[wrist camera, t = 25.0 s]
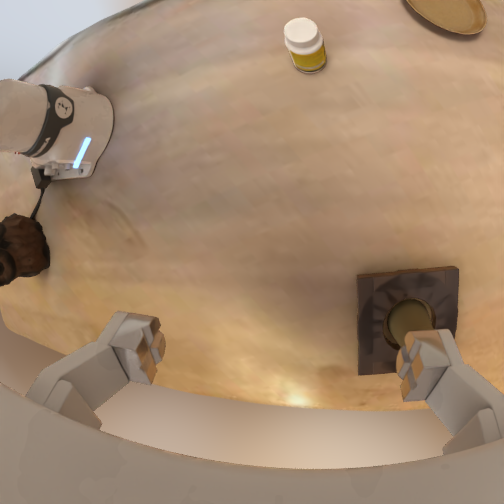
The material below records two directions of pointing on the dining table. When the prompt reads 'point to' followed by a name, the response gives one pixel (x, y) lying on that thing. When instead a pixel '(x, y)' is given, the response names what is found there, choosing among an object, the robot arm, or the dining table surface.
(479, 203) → the dining table surface
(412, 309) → the pepper shaker
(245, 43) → the dining table surface
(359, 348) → the holder
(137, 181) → the dining table surface
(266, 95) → the dining table surface
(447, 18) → the plant saucer
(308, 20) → the supplement bottle
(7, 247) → the owl
